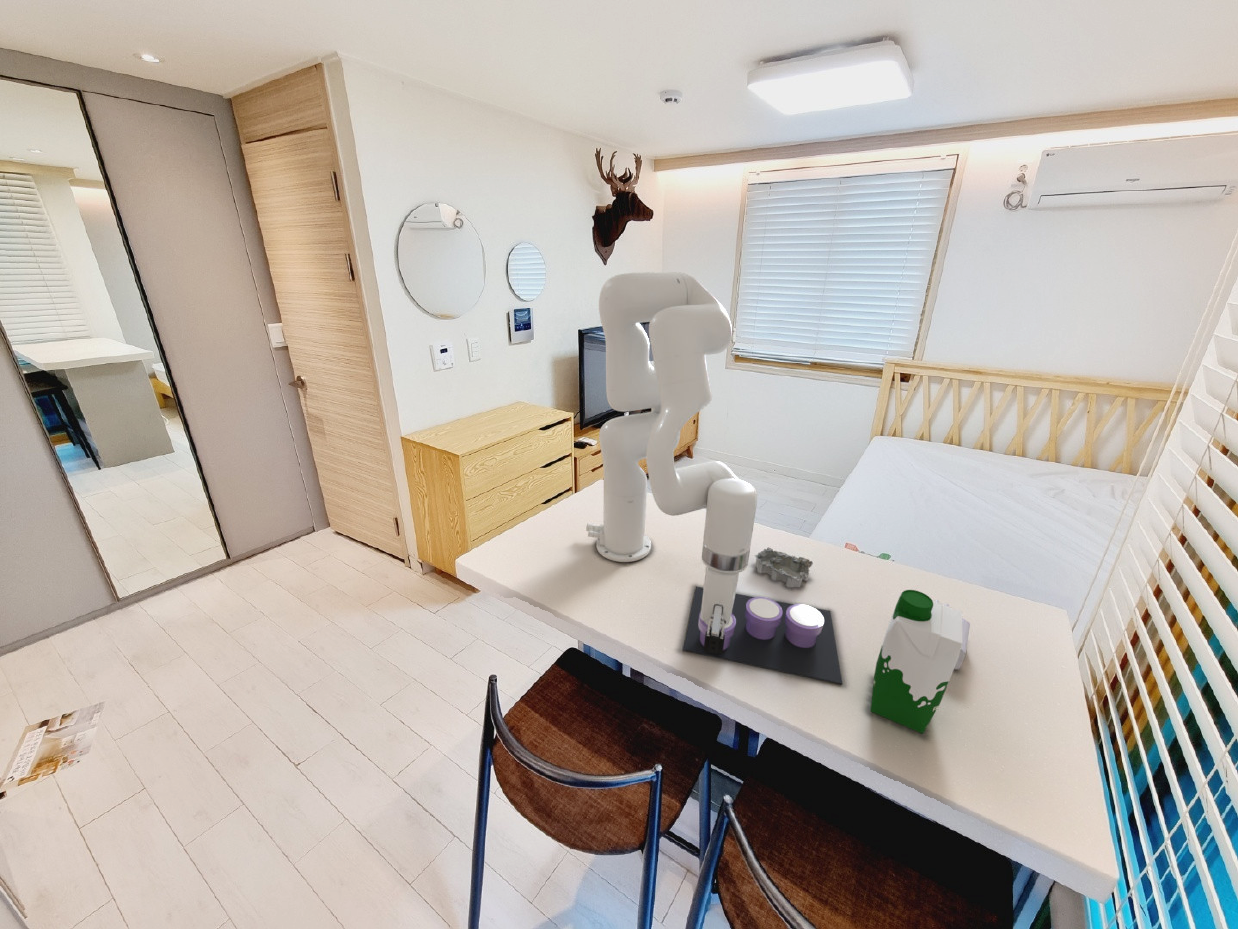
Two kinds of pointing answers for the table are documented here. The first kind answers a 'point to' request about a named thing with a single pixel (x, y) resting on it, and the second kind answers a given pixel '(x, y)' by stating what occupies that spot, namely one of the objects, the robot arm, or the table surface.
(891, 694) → the milk carton
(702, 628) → the purple short cylinder
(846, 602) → the table surface
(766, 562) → the egg carton
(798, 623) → the dish right
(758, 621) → the dish middle
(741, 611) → the placemat
